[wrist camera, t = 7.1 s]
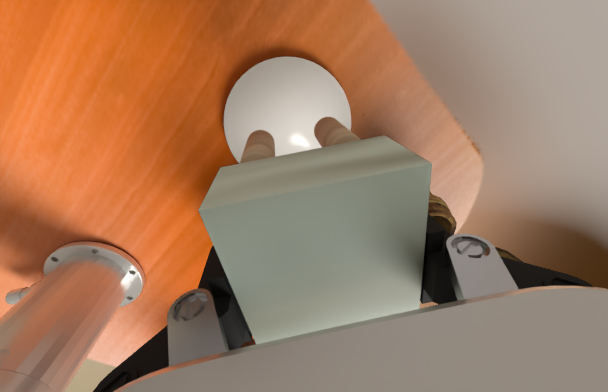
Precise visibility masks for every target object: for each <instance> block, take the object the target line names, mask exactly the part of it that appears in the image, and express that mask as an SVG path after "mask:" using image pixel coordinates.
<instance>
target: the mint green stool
mask: <svg viewBox="0 0 608 392" xmlns="http://www.w3.org/2000/svg"><path fill="white" fill-rule="evenodd" d="M314 135H315V137H316V139H317V141H318V142H319V144H320V145H321V147H322V148H317V149H312V150H307V151H301V152H296V153H291V154H286V155H281V156H276V157H275V142H274V139H273V137H272V135H271V134H270V133H269V132H267V131H264V130H256V131H254V132H252V133H251V134H250V135H249V137H248V139H247V142H246V145H245V149H244V152H243V155H242V158H241V161H240V164H235V165H230V166H225V167H220V169H219V171H218V173H217V175H216V177H215V179H214V181H213V183H212V185H211V187H210V189H209V191H208V193H207V195H206V197H205V198H204V200H203V202H202V204H201V206H200V208H199V210H198V211H199V213H200V215H201V218H202V220H203V222H204V225H205V227H206V229H207V232H208V234H209V236H210V239H211V241H212V243H213V245H214V248H215V250H216V252H217V255H218V257H219V259H220V262H221V264H222V266H223V269H224V271H225V273H226V276H227V278H228V280H229V282H230V285H231V287H232V289H233V292H234V294H235V296H236V299H237V301H238V303H239V306H240V308H241V310H242V313H243V315H244V317H245V319H246V322H247V324H248V326H249V329H250V331H251V333H252V336H253V338H254V340H255V343H256V344H261V343H265V342H269V341H274V340H278V339H283V338H287V337H292V336H296V335H301V334H305V333H310V332H314V331H319V330H323V329H328V328H333V327H337V326H342V325H346V324H351V323H355V322H360V321H365V320H369V319H374V318H379V317H383V316H388V315H392V314H397V313H402V312H407V311H411V310H416V309H419V306H420V295H421V284H422V272H423V261H424V250H425V238H426V227H427V215H428V204H429V193H430V181H431V170H432V163H431V162H429V161H427V160H425V159H424V158H422V157H420V156H419V155H417V154H415V153H414V152H412V151H410V150H409V149H407V148H405V147H404V146H402V145H400V144H399V143H397V142H395V141H393V140H392V139H390V138H388V137H387V136H385V135H383V136H378V137H372V138H367V139H362V140H361V139H360V138H359V137H358V136H356V135H355V134H354V133H352V132H351V131H350V130H349V129H347V128H346V127H345V126H344V125H342V124H341V123H340V122H339V121H337V120H336V119H335V118H333V117H324V118H322V119H320V120H319V121H318V122H317V123H316V125H315V128H314Z"/></svg>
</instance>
